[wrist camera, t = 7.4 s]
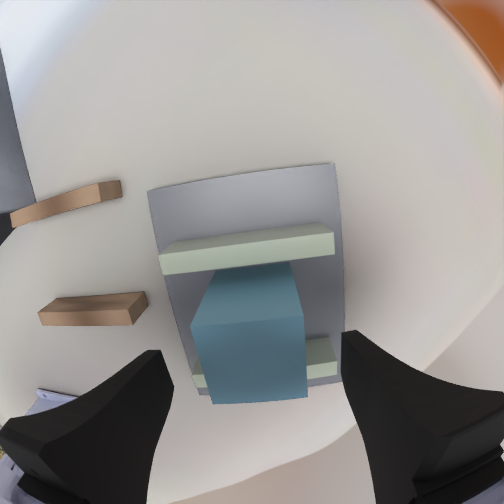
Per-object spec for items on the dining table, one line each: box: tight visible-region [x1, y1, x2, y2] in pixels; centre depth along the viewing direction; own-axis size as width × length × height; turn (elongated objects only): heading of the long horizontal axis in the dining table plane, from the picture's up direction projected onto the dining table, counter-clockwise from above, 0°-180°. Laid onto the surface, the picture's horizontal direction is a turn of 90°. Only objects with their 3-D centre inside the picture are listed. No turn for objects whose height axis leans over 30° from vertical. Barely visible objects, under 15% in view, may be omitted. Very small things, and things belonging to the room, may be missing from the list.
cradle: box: [10, 180, 148, 326], centre depth 15 cm, size 8×8×2 cm
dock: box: [147, 163, 345, 395], centre depth 15 cm, size 10×14×3 cm
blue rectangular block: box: [190, 262, 308, 404], centre depth 13 cm, size 4×4×6 cm
